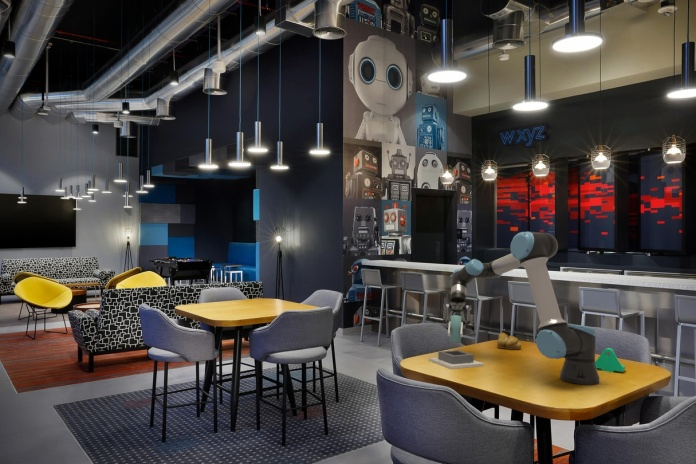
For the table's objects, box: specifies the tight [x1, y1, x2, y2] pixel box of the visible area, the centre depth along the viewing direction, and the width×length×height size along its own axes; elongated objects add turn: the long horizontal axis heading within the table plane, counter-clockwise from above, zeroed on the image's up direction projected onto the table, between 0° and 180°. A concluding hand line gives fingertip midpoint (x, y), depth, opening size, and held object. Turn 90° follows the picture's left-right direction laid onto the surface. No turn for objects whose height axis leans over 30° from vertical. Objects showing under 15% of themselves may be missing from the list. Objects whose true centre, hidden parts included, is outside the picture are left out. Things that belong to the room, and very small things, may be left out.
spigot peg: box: [449, 314, 462, 344], centre depth 255 cm, size 5×5×12 cm
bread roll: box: [496, 332, 522, 350], centre depth 294 cm, size 13×10×8 cm
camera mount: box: [595, 347, 626, 373], centre depth 248 cm, size 12×8×10 cm, turn 54°
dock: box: [428, 349, 485, 370], centre depth 255 cm, size 18×18×5 cm
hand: (455, 334), depth 252 cm, fingers closed on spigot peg, 5 cm apart
